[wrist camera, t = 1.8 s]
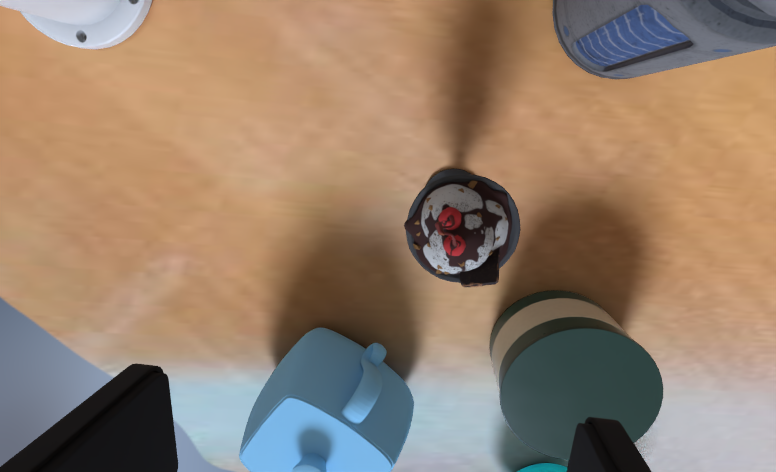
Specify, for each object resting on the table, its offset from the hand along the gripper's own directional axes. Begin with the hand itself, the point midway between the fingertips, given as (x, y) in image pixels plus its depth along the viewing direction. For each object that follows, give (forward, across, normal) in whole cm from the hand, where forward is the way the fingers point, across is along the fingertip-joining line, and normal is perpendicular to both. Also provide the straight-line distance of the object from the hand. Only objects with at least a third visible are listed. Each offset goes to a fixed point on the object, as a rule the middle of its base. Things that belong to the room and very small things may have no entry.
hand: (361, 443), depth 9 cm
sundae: (+26, -3, -1) cm, 26 cm away
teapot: (+26, +7, +19) cm, 33 cm away
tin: (+26, -13, +12) cm, 31 cm away
